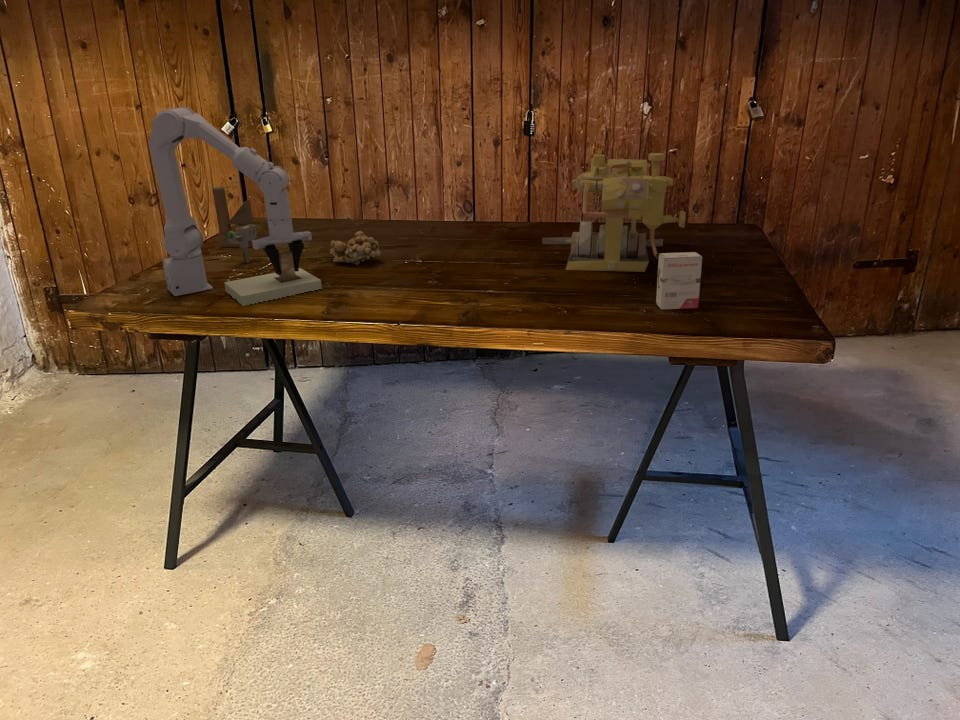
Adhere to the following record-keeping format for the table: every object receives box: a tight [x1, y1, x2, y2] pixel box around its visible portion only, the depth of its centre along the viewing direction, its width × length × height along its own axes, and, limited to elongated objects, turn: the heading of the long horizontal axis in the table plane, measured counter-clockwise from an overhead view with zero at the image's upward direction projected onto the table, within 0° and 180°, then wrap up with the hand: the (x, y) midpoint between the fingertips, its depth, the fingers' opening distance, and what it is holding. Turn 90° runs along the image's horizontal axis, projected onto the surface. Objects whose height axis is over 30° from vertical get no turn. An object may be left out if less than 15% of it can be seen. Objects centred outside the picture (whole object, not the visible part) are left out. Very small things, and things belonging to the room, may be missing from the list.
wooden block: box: [212, 186, 257, 248], centre depth 220 cm, size 4×11×18 cm, turn 83°
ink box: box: [655, 251, 703, 310], centre depth 160 cm, size 9×5×12 cm, turn 92°
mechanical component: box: [226, 224, 258, 264], centre depth 204 cm, size 3×10×10 cm, turn 152°
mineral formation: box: [329, 230, 381, 266], centre depth 201 cm, size 8×13×15 cm
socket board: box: [223, 267, 323, 307], centre depth 180 cm, size 20×14×2 cm
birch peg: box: [279, 249, 296, 283], centre depth 181 cm, size 4×4×8 cm
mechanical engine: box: [541, 148, 686, 273], centre depth 188 cm, size 39×37×30 cm
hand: (287, 272), depth 181 cm, fingers closed on birch peg, 4 cm apart
